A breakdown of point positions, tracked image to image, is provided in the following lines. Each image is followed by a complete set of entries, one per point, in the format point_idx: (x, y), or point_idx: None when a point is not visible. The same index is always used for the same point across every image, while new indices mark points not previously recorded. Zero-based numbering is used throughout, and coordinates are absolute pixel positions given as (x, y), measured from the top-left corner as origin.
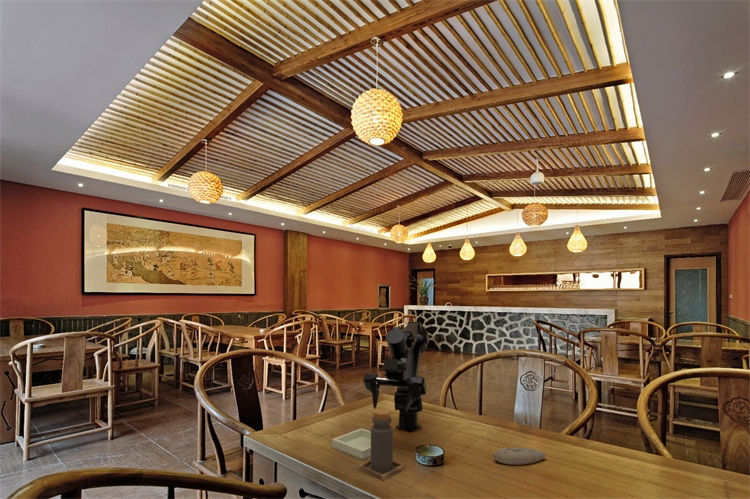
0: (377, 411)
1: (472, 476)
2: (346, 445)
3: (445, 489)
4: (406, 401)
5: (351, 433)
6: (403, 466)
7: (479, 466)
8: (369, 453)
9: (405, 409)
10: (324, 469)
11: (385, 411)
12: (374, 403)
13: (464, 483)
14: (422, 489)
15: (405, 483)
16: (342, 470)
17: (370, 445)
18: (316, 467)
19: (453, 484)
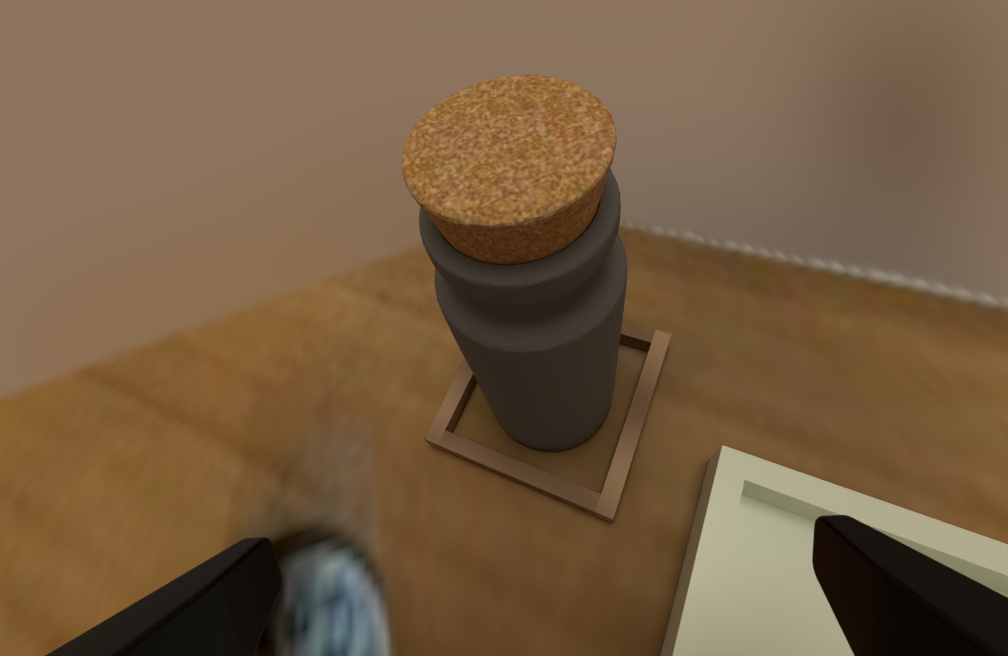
0: (552, 116)
1: (103, 484)
2: (920, 516)
3: (248, 326)
4: (125, 632)
5: None
6: (433, 425)
7: (17, 635)
8: (697, 520)
9: (247, 541)
10: (833, 285)
11: (459, 148)
12: (874, 545)
13: (161, 401)
14: (336, 294)
15: (407, 310)
16: (738, 309)
17: None
18: (892, 287)
19: (209, 376)
